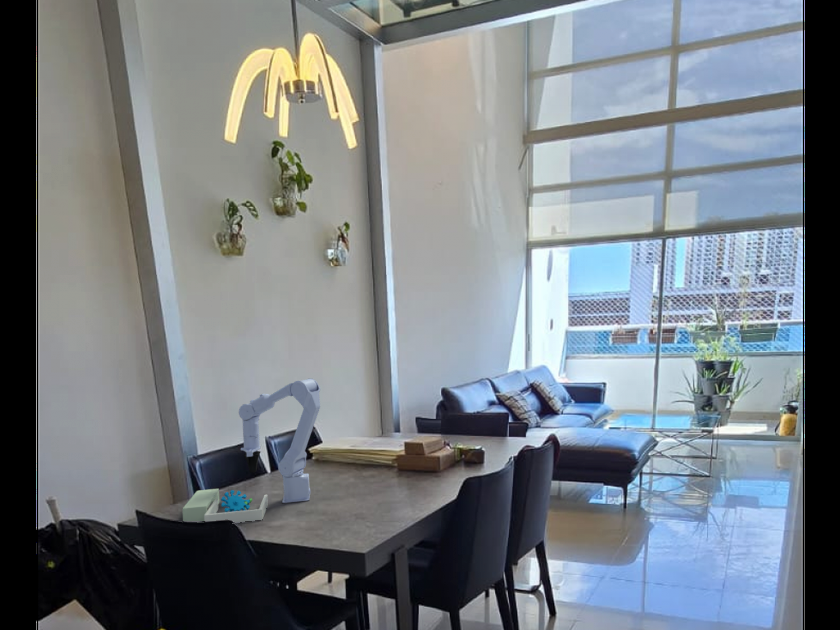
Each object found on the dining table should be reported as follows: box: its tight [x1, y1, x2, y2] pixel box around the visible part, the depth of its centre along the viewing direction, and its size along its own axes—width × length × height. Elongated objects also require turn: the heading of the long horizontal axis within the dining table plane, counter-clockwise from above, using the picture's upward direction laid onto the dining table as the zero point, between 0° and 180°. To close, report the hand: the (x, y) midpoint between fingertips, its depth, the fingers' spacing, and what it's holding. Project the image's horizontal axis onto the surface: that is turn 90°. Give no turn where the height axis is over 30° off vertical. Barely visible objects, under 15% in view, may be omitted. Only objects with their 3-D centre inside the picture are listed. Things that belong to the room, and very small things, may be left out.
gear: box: [220, 489, 253, 512], centre depth 202 cm, size 11×6×10 cm
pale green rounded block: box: [182, 488, 220, 522], centre depth 205 cm, size 8×22×5 cm, turn 9°
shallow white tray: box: [204, 494, 269, 524], centre depth 200 cm, size 18×18×4 cm
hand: (253, 472), depth 220 cm, fingers closed
